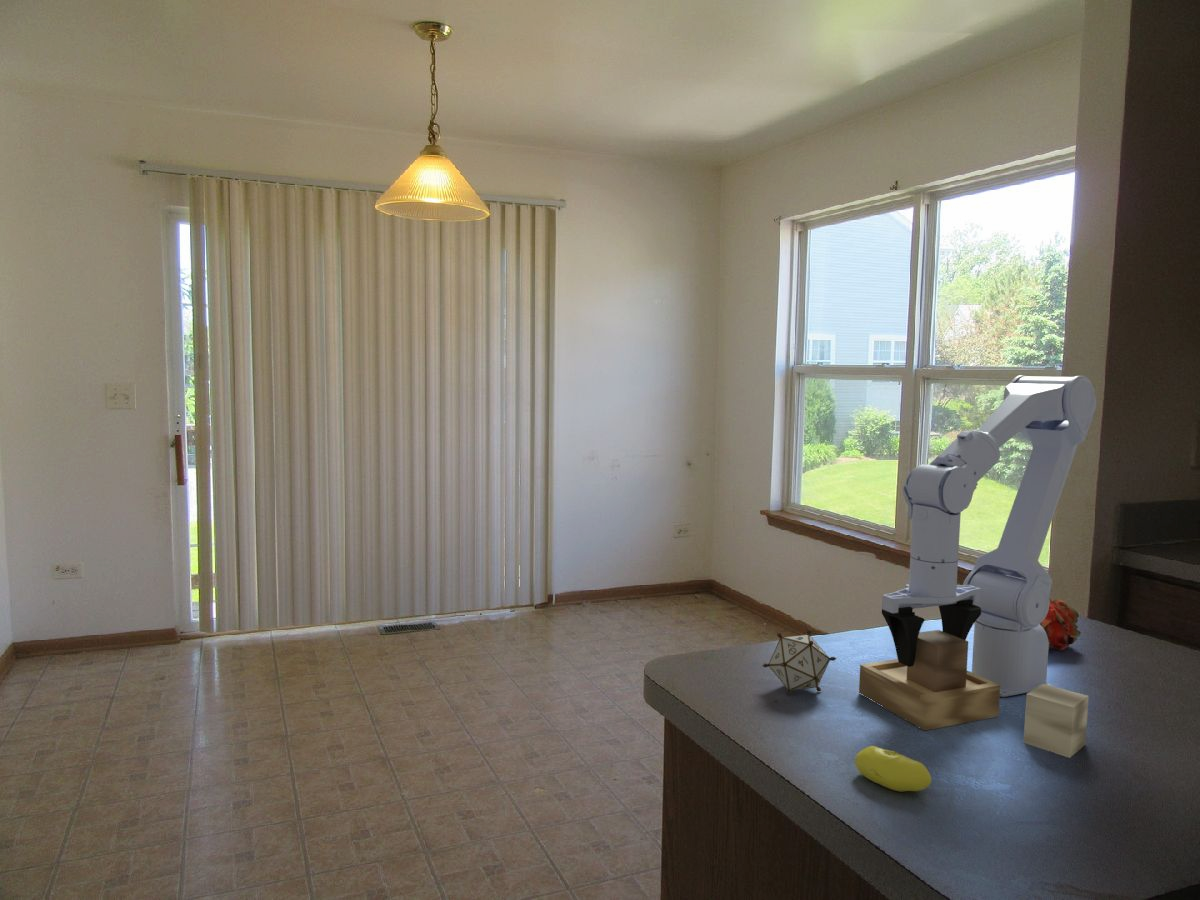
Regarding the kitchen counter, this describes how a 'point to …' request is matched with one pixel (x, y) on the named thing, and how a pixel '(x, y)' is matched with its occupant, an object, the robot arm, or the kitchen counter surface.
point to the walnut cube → (939, 661)
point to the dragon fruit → (1060, 625)
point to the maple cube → (1056, 720)
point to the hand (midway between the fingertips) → (928, 660)
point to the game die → (799, 662)
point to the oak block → (928, 696)
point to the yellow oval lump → (892, 769)
